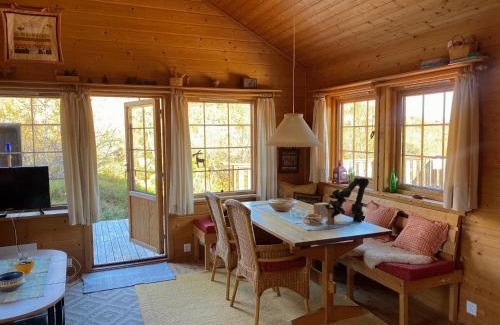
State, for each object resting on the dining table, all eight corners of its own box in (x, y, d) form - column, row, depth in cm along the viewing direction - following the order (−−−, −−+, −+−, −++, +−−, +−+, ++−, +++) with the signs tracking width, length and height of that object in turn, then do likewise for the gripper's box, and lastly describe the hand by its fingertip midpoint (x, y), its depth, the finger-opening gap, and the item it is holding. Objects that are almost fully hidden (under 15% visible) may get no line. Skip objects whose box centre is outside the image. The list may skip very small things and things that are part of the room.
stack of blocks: (333, 214, 364) (333, 202, 363) (336, 216, 358) (337, 203, 357) (313, 216, 357) (313, 203, 356) (316, 217, 351) (317, 204, 350)
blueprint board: (346, 222, 334) (346, 219, 334) (349, 225, 323) (349, 222, 323) (325, 221, 334) (325, 219, 333) (328, 225, 323) (328, 222, 322)
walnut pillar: (330, 223, 321) (331, 209, 320) (334, 224, 318) (334, 210, 317) (327, 224, 319) (327, 209, 318) (330, 225, 316) (331, 210, 315)
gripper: (326, 195, 326) (317, 209, 321) (343, 198, 311) (333, 213, 306) (333, 203, 331) (323, 217, 326) (349, 206, 316) (339, 221, 311)
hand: (329, 217), depth 317 cm, fingers closed on walnut pillar, 4 cm apart
